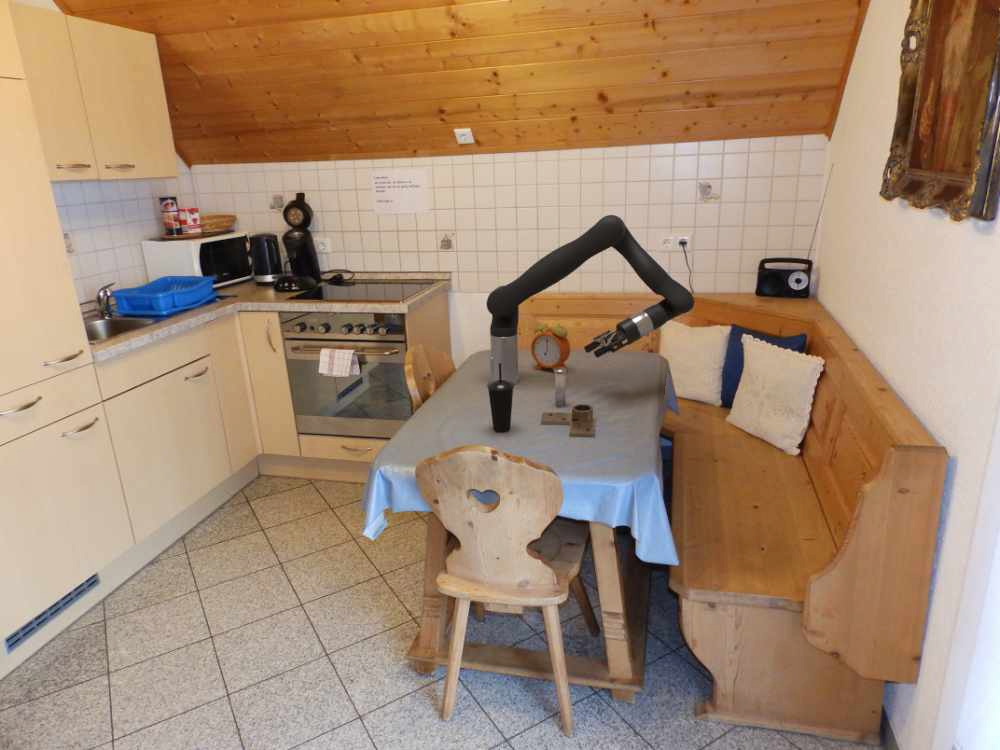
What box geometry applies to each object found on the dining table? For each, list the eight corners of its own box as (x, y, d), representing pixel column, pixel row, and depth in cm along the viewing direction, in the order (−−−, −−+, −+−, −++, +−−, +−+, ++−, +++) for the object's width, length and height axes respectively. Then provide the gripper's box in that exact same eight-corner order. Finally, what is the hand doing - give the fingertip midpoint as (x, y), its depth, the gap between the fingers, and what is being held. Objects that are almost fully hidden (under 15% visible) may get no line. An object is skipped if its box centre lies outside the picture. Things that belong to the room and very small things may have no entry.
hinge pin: (553, 407, 210) (553, 371, 206) (554, 403, 214) (554, 367, 210) (566, 407, 210) (566, 371, 206) (566, 403, 213) (566, 367, 209)
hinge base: (539, 435, 190) (538, 422, 188) (542, 415, 204) (542, 403, 203) (594, 437, 188) (594, 423, 186) (594, 416, 202) (594, 403, 201)
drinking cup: (506, 436, 190) (504, 369, 184) (483, 431, 194) (481, 365, 187) (520, 427, 196) (518, 361, 190) (497, 422, 200) (495, 358, 194)
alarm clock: (530, 369, 247) (529, 316, 241) (539, 365, 252) (538, 312, 246) (562, 375, 240) (562, 320, 234) (570, 370, 245) (570, 316, 239)
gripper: (621, 314, 215) (577, 338, 213) (640, 320, 202) (593, 345, 200) (630, 334, 217) (586, 358, 216) (649, 341, 204) (603, 367, 202)
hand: (590, 352), depth 208 cm, fingers open, 8 cm apart
